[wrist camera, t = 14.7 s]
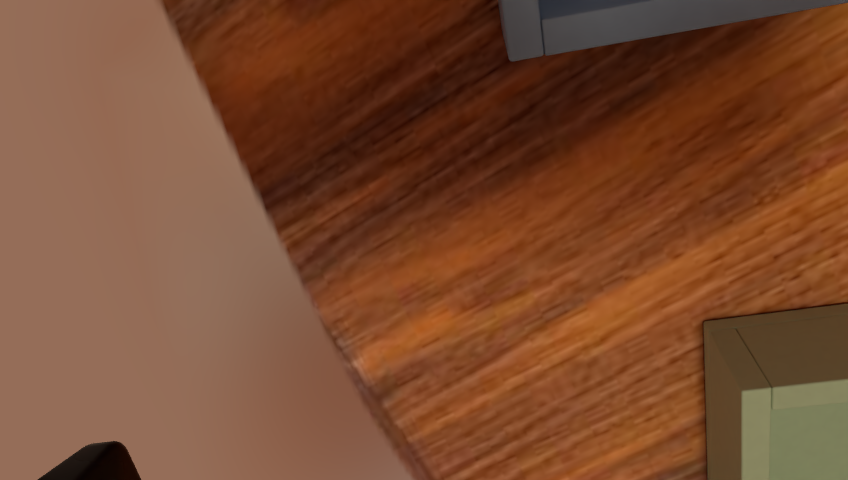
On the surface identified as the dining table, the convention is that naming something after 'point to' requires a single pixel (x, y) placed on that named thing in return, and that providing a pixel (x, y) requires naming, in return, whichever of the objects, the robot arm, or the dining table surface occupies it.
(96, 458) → the robot arm
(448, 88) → the dining table surface
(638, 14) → the gray square bin
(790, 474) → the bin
